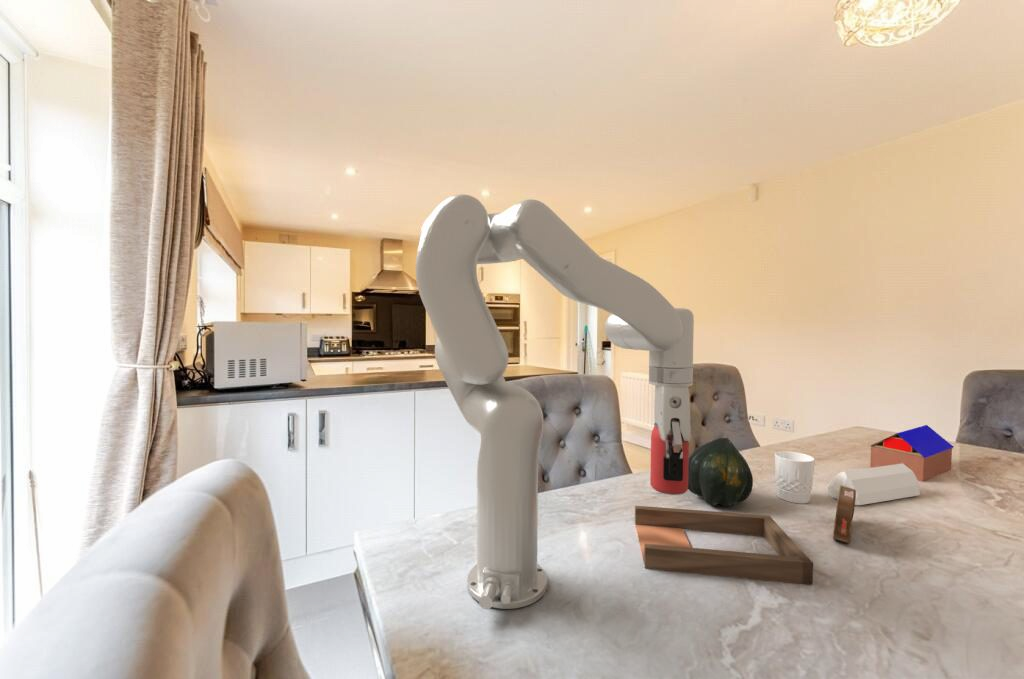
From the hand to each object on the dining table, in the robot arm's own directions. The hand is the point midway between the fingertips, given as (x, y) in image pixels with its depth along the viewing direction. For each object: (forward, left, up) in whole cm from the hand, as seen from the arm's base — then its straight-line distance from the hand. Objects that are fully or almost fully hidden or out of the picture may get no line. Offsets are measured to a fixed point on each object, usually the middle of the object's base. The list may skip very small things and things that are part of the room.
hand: (669, 471), depth 80 cm
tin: (+11, -35, -14) cm, 39 cm away
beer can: (0, 0, -3) cm, 3 cm away
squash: (+24, -15, -14) cm, 31 cm away
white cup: (+28, -33, -14) cm, 45 cm away
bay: (0, -7, -14) cm, 15 cm away
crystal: (+33, -52, -14) cm, 63 cm away
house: (+56, -75, -14) cm, 95 cm away
